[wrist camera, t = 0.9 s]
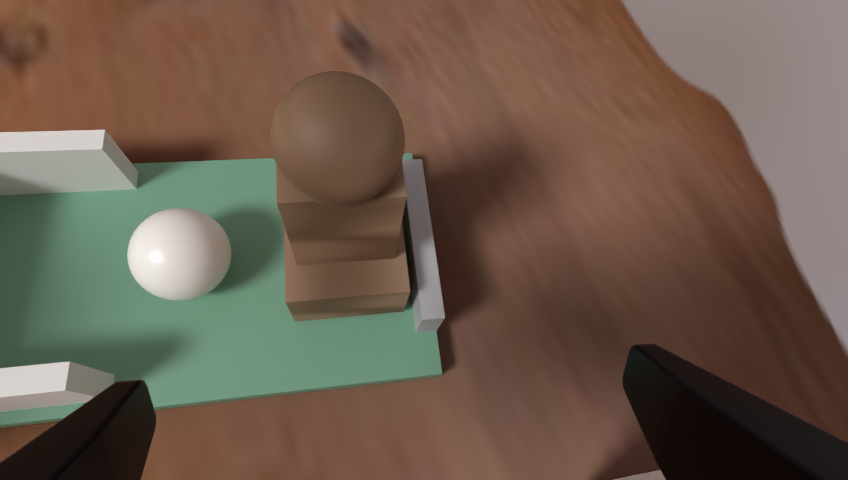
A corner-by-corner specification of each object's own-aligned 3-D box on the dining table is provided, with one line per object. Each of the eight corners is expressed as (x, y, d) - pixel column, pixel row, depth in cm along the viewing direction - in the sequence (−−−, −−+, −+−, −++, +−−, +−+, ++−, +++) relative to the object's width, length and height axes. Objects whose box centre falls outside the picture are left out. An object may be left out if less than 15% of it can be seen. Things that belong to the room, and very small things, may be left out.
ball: (198, 328, 21) (165, 303, 18) (130, 279, 22) (85, 246, 18) (258, 260, 23) (239, 225, 19) (193, 216, 24) (163, 174, 20)
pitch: (410, 162, 28) (419, 112, 23) (439, 376, 23) (456, 361, 19) (-4, 179, 24) (-78, 124, 20) (-67, 435, 19) (-179, 432, 15)
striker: (390, 199, 25) (415, 15, 14) (403, 311, 23) (444, 191, 12) (292, 205, 24) (240, 13, 13) (294, 321, 22) (235, 201, 11)
